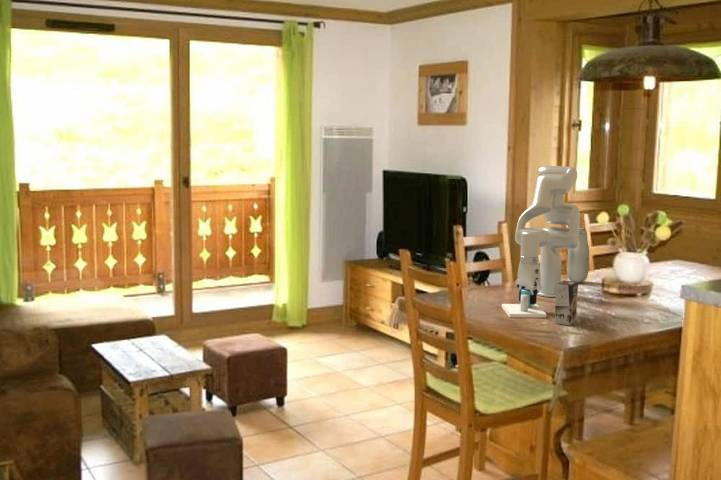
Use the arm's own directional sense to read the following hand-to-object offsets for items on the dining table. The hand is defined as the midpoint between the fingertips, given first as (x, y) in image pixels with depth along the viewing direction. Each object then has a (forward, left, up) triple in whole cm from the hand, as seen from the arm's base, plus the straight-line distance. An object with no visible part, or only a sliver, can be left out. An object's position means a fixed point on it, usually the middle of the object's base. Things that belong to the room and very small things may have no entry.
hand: (527, 301), depth 331 cm
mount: (+3, +5, -4) cm, 6 cm away
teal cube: (0, 0, -1) cm, 1 cm away
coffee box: (-11, +21, -4) cm, 24 cm away
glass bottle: (-38, -61, -4) cm, 72 cm away
